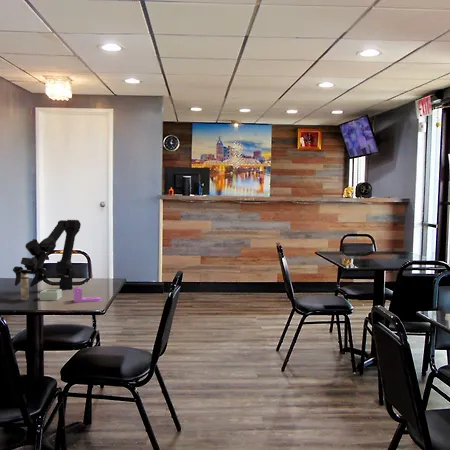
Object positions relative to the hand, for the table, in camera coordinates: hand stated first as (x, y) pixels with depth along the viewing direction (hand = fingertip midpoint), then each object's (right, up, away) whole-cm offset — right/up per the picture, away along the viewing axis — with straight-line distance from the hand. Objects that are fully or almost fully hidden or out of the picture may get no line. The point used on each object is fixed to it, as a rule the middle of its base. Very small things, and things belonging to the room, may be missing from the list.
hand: (22, 285), depth 251 cm
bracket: (+32, -8, 0) cm, 33 cm away
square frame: (+12, -7, +4) cm, 15 cm away
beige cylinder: (0, -7, +1) cm, 7 cm away
